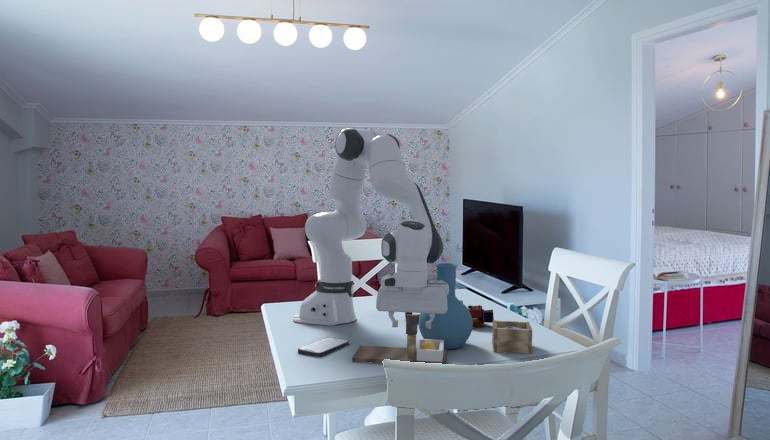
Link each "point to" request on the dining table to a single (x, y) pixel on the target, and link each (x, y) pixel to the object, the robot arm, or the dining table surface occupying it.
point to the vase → (448, 314)
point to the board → (387, 354)
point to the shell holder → (512, 337)
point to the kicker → (411, 334)
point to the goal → (431, 351)
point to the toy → (475, 315)
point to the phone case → (323, 347)
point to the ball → (428, 345)
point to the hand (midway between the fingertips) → (411, 327)
